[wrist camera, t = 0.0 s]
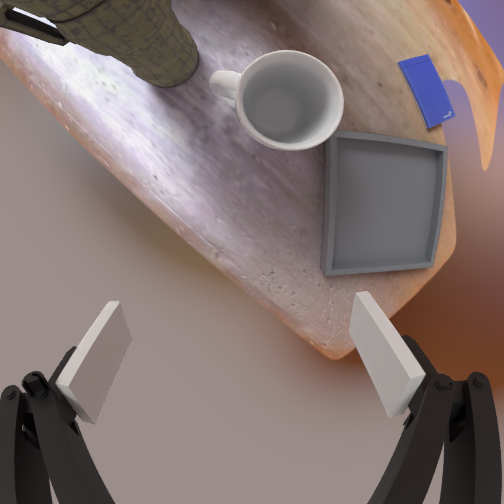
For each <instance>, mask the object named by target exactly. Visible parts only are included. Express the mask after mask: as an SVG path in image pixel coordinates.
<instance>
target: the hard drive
mask: <svg viewBox="0 0 504 504" xmlns="http://www.w3.org/2000/svg"><path fill="white" fill-rule="evenodd" d="M396 64H397V66H398V68H399V69H400V71H401V73H402V75H403V77H404V79H405V81H406V83H407V85H408V87H409V90H410V92H411V94H412V96H413V98H414V100H415V103H416V105H417V107H418V110H419V112H420V114H421V117H422V119H423V122H424V124H425V127H426V128H427V129H428V128H431V127H433V126H435V125H437V124H440V123H442V122H444V121H446V120H448V119H450V118H453V117H455V113H454V110H453V108H452V105H451V103H450V100H449V98H448V95H447V93H446V91H445V88H444V86H443V84H442V81H441V79H440V77H439V75H438V73H437V71H436V69H435V67H434V65H433V63H432V61H431V59H430V57H429V55H428V54H427V55H423V56H419V57H415V58H411V59H407V60H404V61H400V62H397V63H396Z"/></svg>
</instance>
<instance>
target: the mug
mask: <svg viewBox="0 0 504 504" xmlns="http://www.w3.org/2000/svg"><path fill="white" fill-rule="evenodd" d="M209 86H210V88H211V89H212V90H214V91H215V92H216V93H218V94H220V95H222V96H225V97H227V98H230V99H232V100H235V105H236V112H237V116H238V119H239V121H240V123H241V125H242V127H243V128H244V130H245V131H246V132H247V134H249V135H250V136H251V137H252V138H253V139H254V140H256V141H257V142H259V143H261V144H263V145H265V146H268V147H270V148H273V149H277V150H284V151H297V150H305V149H309V148H312V147H315V146H317V145H319V144H321V143H322V142H324V141H325V140H327V139H328V138H329V137H330V136H331V135H332V134H333V133H334V131H335V130H336V129H337V127H338V125H339V123H340V121H341V118H342V115H343V110H344V97H343V92H342V89H341V86H340V84H339V81H338V80H337V78H336V76H335V75H334V73H333V72H332V71H331V70H330V69H329V68H328V67H327V66H326V65H325V64H324V63H323V62H321V61H320V60H318V59H317V58H315V57H313V56H311V55H309V54H306V53H303V52H299V51H293V50H281V51H275V52H271V53H268V54H265V55H263V56H261V57H259V58H257V59H256V60H254V61H253V62H252V63H251V64H249V66H248V67H247V68H246V69H245V70H244V71H243V73H242V74H241V73H238V72H234V71H228V70H218V71H216V72H214V73H213V74H212V75H211V77H210V79H209Z"/></svg>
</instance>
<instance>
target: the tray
mask: <svg viewBox="0 0 504 504" xmlns="http://www.w3.org/2000/svg"><path fill="white" fill-rule="evenodd" d="M447 153H448V146H443V145H439V144H434V143H429V142H424V141H418V140H413V139H407V138H400V137H394V136H387V135H379V134H371V133H361V132H351V131H338V130H335V131H334V133H333V134H332V135H331V136H330V137H329V138H328V139H327V140H325V141H324V209H323V232H322V250H321V265H320V268H321V270H322V272H323V273H324V275H325V276H332V275H346V274H360V273H372V272H384V271H396V270H407V269H418V268H428V267H433V264H434V260H435V255H436V250H437V245H438V240H439V234H440V228H441V221H442V214H443V207H444V198H445V188H446V175H447Z"/></svg>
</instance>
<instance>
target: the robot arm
mask: <svg viewBox="0 0 504 504" xmlns="http://www.w3.org/2000/svg"><path fill="white" fill-rule="evenodd" d="M348 332H349V334H350V336H351V338H352V340H353V342H354V344H355V346H356V348H357V350H358V352H359V354H360V356H361V358H362V360H363V362H364V364H365V367H366V369H367V371H368V373H369V375H370V377H371V379H372V381H373V383H374V386H375V388H376V390H377V392H378V395H379V397H380V399H381V401H382V403H383V406H384V408H385V410H386V412H387V415H388V417H389V418H391V417H395V416H398V415H401V414H403V413H404V412H405V410H406V409H407V407H409V409H410V411H411V413H410V414H409V416H408V417H407V419H406V420H405V422H404V424H403V425H405V427H404V429H403V432H402V434H401V437H400V440H399V442H398V444H397V447H396V449H395V451H394V454H393V456H392V458H391V460H390V462H389V464H388V467H387V468H386V470H385V472H384V474H383V476H382V479H381V481H380V482H379V484H378V486H377V488H376V490H375V491H374V493H373V495H372V497H371V499H370V500H369V502H368V503H367V504H422V503H423V501H424V499H425V496H426V494H427V491H428V489H429V486H430V484H431V481H432V478H433V475H434V472H435V470H436V467H437V463H438V460H439V457H440V454H441V450H442V446H443V443H444V465H443V477H442V487H441V495H440V502H439V504H501V491H502V469H501V468H502V467H501V449H500V440H499V430H498V423H497V416H496V410H495V405H494V400H493V395H492V390H491V386H490V382H489V380H488V378H487V377H486V376H485V375H484V374H482V373H480V372H473V373H471V374H470V375H469V377H468V378H467V380H465V381H453V380H452V379H451V378H450V377H449V376H447V375H445V374H438V372H437V371H436V369H435V368H434V367H433V365H432V364H431V363H430V361H429V359H428V358H427V356H426V355H425V354H424V352H423V351H422V349H420V347H419V345H418V344H417V343H416V341H415V340H414V339H412V338H411V337H410V336H408V335H404V336H400V335H399V334H398V332H397V331H396V329H395V328H394V326H393V325H392V324H391V322H390V321H389V319H388V318H387V317H386V315H385V314H384V312H383V311H382V310H381V308H380V307H379V306H378V304H377V303H376V302H375V300H374V299H373V298H372V296H371V295H370V294H369V292H368V291H364V292H356V293H355V298H354V304H353V310H352V315H351V320H350V325H349V330H348ZM131 341H132V337H131V334H130V331H129V328H128V325H127V322H126V319H125V315H124V312H123V309H122V306H121V303H120V301H109V302H108V303H107V305H106V306H105V307H104V309H103V310H102V312H101V313H100V315H99V316H98V317H97V319H96V320H95V322H94V323H93V325H92V326H91V328H90V329H89V330H88V332H87V333H86V335H85V336H84V338H83V339H82V341H81V342H80V344H79V345H78V347H75V346H74V347H72V348H71V349H70V350H69V351H68V352H67V353H66V354H65V356H64V357H63V360H61V362H60V364H59V366H58V367H57V368H56V370H55V372H54V373H53V375H52V376H51V378H50V380H49V381H48V382H47V380H46V379H45V377H44V375H43V374H42V373H41V372H39V371H34V372H31V373H29V374H27V375H26V376H25V377H24V379H23V380H22V386H23V388H24V389H25V391H26V392H27V393H22V392H21V391H20V389H19V388H18V387H17V386H16V385H11V386H8V387H6V388H5V389H4V391H3V392H2V395H1V399H0V504H53V503H52V497H51V490H50V483H49V478H50V481H51V483H52V486H53V489H54V491H55V494H56V497H57V499H58V502H59V504H115V502H114V501H113V499H112V497H111V495H110V494H109V492H108V490H107V488H106V486H105V485H104V483H103V481H102V479H101V477H100V475H99V473H98V471H97V469H96V467H95V465H94V463H93V460H92V458H91V456H90V454H89V451H88V449H87V447H86V444H85V442H84V440H83V437H82V434H81V432H80V429H79V426H78V424H77V422H76V421H75V417H76V415H78V416H79V417H80V418H81V420H82V421H84V422H87V423H91V424H95V423H96V421H97V418H98V416H99V413H100V411H101V408H102V406H103V403H104V401H105V399H106V396H107V394H108V391H109V389H110V387H111V385H112V382H113V380H114V378H115V375H116V373H117V371H118V369H119V367H120V364H121V362H122V360H123V358H124V356H125V353H126V351H127V349H128V347H129V345H130V343H131ZM22 425H23V430H22Z"/></svg>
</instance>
